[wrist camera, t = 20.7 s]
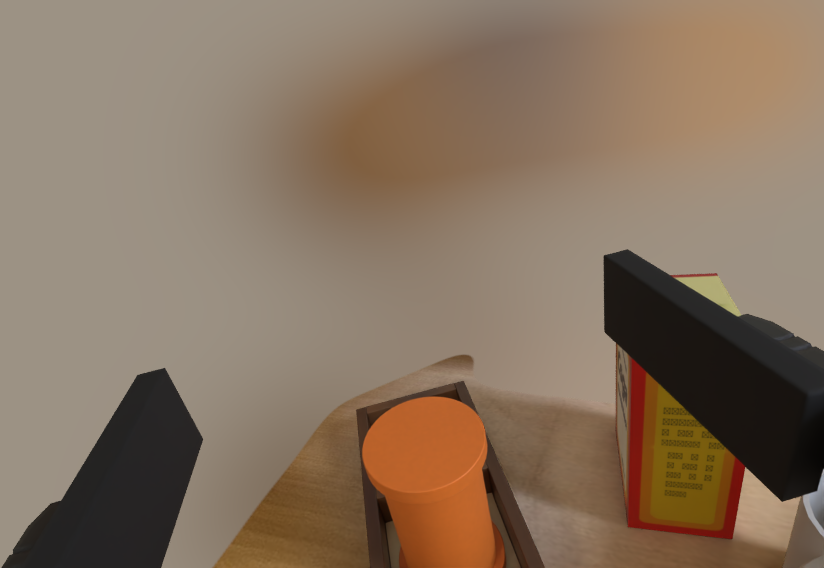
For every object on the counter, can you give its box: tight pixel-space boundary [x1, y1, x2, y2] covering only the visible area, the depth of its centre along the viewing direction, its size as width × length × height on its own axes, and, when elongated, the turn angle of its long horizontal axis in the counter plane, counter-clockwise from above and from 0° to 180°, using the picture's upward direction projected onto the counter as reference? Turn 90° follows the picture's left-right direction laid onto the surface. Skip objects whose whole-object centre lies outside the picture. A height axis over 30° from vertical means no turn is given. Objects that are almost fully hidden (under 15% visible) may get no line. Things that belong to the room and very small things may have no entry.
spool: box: [362, 397, 506, 568], centre depth 31 cm, size 8×8×12 cm
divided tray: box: [356, 381, 545, 568], centre depth 38 cm, size 11×21×4 cm, turn 10°
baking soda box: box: [616, 273, 745, 539], centre depth 34 cm, size 10×6×16 cm
